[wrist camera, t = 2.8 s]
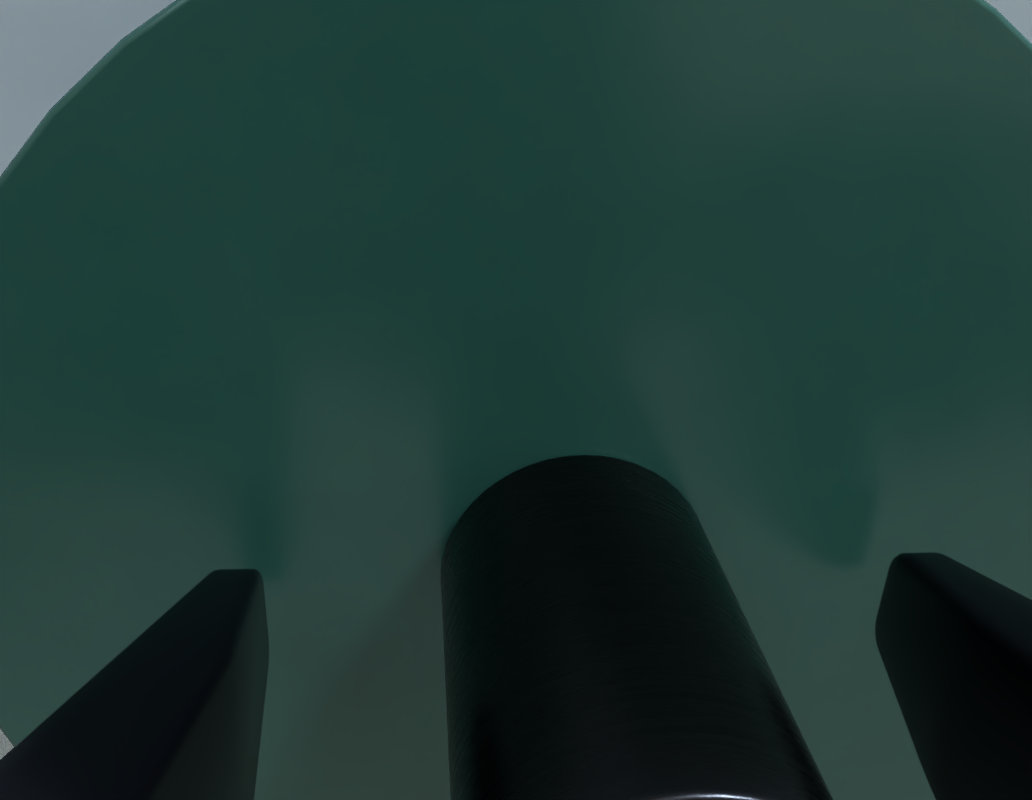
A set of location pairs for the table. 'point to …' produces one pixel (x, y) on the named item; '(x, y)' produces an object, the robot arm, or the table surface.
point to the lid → (524, 378)
